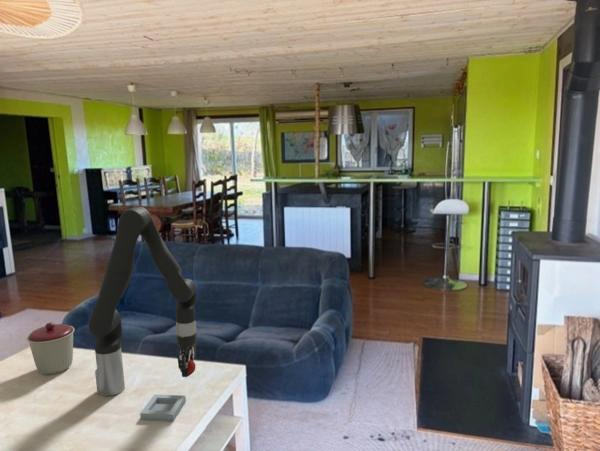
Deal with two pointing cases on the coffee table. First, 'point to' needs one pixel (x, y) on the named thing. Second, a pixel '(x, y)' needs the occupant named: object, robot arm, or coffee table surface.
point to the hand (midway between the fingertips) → (187, 372)
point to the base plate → (163, 407)
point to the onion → (190, 367)
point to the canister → (52, 347)
